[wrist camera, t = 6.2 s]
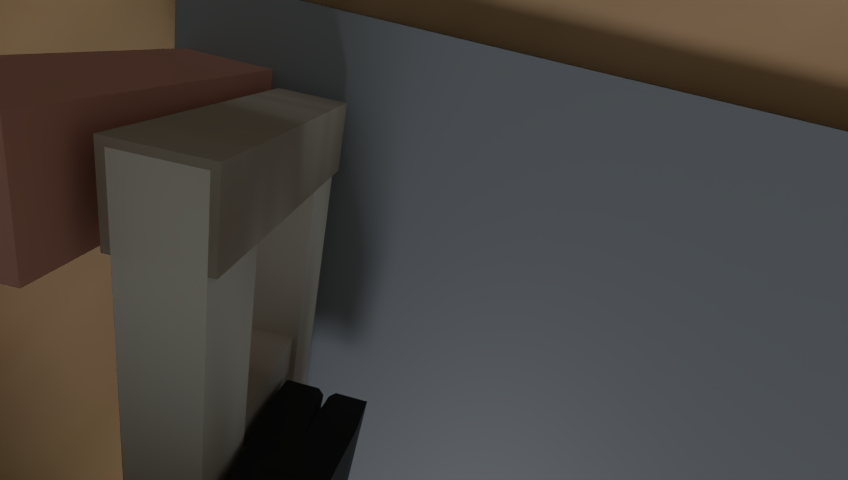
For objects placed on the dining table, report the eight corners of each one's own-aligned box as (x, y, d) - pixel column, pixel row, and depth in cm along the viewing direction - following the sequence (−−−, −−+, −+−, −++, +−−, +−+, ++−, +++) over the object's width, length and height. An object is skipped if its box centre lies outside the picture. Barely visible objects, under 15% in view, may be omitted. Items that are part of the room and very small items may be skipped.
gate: (289, 541, 13) (199, 773, 9) (244, 530, 13) (133, 755, 9) (347, 102, 9) (221, 162, 4) (279, 88, 9) (92, 134, 5)
